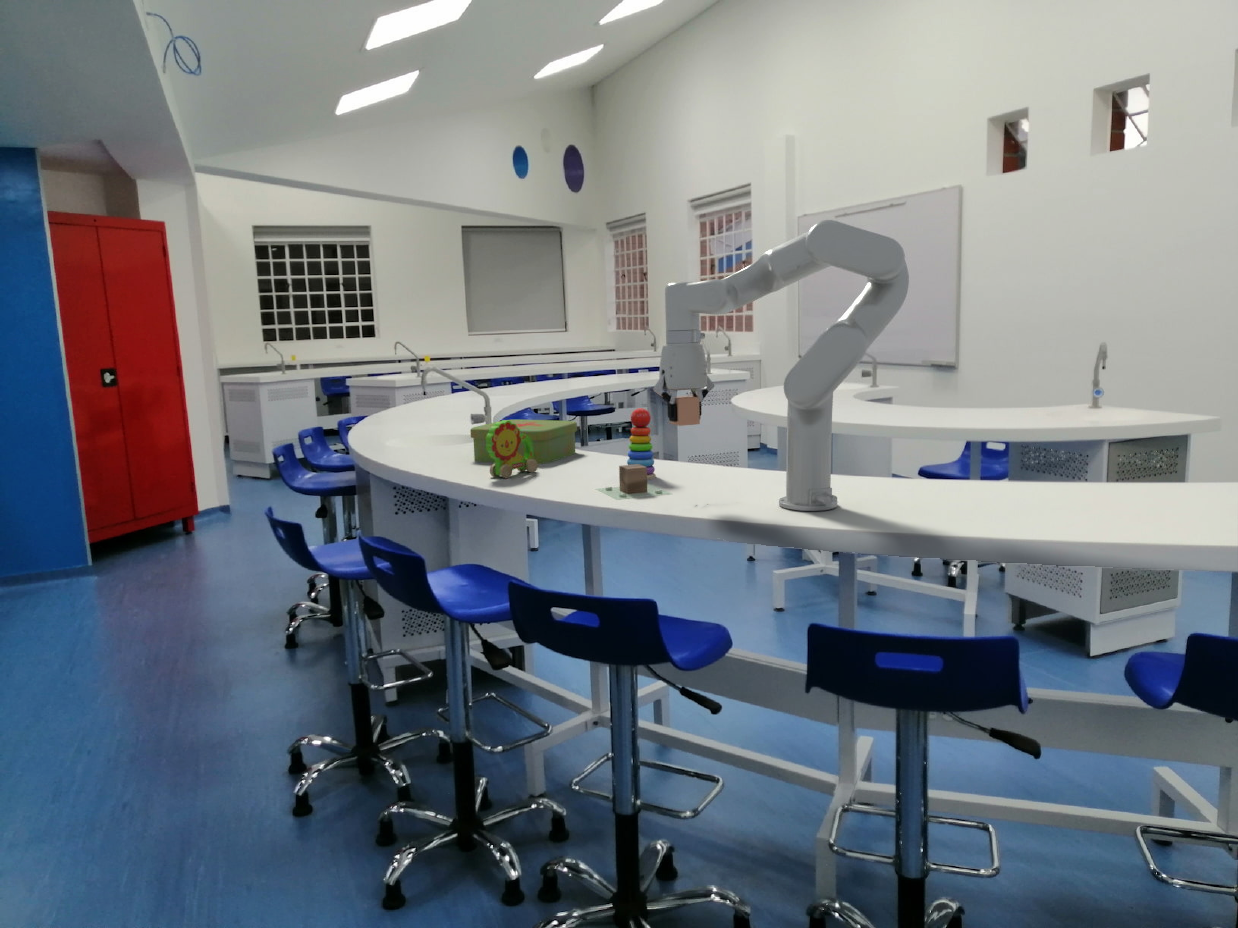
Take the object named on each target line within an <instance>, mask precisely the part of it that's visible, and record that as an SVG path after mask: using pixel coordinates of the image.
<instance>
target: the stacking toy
mask: <svg viewBox="0 0 1238 928" xmlns="http://www.w3.org/2000/svg"><path fill="white" fill-rule="evenodd" d="M630 415H631V416H630V422H631V424H632V425H633V426H634V427H632V428H630V433H631V436H629V442H630V443H629V444H628V448H629V451H628V452H627V456H628V459H627V460H626V465H634V464H640V465H642V466H645V467H647V480H652V479H656V477H657V475H656V473H655V469H656V468H655V466H654V464H655V459H654V458H653V456H654V453H653V451H652V449H653V444H652V443H651V442H652V441H651V440H652V437H651V436H650V433H651V428H650V427H648V425H649V424H650V423H651V420H652V418H651V414H650V412H649V411H648V410H646V409H645V408H641V407H640V408H636V409H634V410H633V411H632V413H631V414H630Z"/></svg>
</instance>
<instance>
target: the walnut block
mask: <svg viewBox="0 0 1238 928" xmlns="http://www.w3.org/2000/svg"><path fill="white" fill-rule="evenodd" d="M618 467H619V468H618V470H619V471H618V472H619V473H618V474H619V476H618V477H619V487H620V491H622V492H624V493H626V494H635V493H645V492H647V484H648V479H647V467H645V466H642V465H640V464H634V465H628V464H626V465H625V464H624V465H618Z"/></svg>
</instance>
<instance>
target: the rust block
mask: <svg viewBox="0 0 1238 928" xmlns="http://www.w3.org/2000/svg"><path fill="white" fill-rule="evenodd" d="M675 404H677V422H673V421H670V420H669V425H670V424H671V425H674V426H678V427H679V426H680V427H683V426H693V425H700V423H701V416H700V412H699V397H693V396H692V395H684V396H676V400H675Z"/></svg>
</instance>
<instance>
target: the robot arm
mask: <svg viewBox="0 0 1238 928" xmlns="http://www.w3.org/2000/svg"><path fill="white" fill-rule="evenodd" d="M905 259H906V256H905V251H904V248H903V247H902V245H901V244H900V243H899V241H897V240H896V239H894V238H892V237H890V236H886V235H883V234H879V233H877V232H873V231H871V230H870V231H869V230H867V229H862V228H859V227H856V226H853V225H849V224H846V223H844V222H841V221H838V220H834V219H825V220H820V221H819V222H816V223H815V224H814V225H813V226H811V228H810V229H809V230H808V231H806V232H804V233H801V234H800V235H798V236H795V237H794V238H792V239H790V240H788V241H786V242H783V243H781V244H779V245H777V246H775V247H772V248H770V249H769V250H767V251H765V252H764V253H762V255H761V256H760V257H758V259H757V260H756V261H754V262H753V263H751V264H749V265H748V266H746V267H745V268H743V269H741V270H739V271H737V272H734V273H733V274H730V275H729V276H727V277H724V278H721V279H717V278H716V279H713V278H712V279H708V280H706V279H705V280H701V281H698V282H697V281H696V282H694V281H679V282H677V281H675V282H669V283H667V284H666V285H665V289H664V301H665V303H664V305H665V306H664V309H665V311H664V313H665V342H666V343H665V345H662V347H661V354H660V361H659V375H658V376H659V379H658V380H657V382H656V384H655V385H654V387H653V389H652V390H653V392H655V393H656V394H657V395H658V396H660V397H661V398H662V399H663V401H664V402H665V403H666V404H667V418H668V420H669V422H670V421H673V422H677V404H675V400H676V397H677V395H678V391H685V390H686V391H688V390H689V391H690V392H691V396H693V397H699V412H700V417H701V416H702V402H704V399H705V398H706V397H707V395H708V394H709V393H710V392H711V391H712V390H713V388H714V387H715V384H714V383H713V381H712V380H711V379H710V377H709V376H708V371H707V370H708V369H707V361H706V354H705V350H704V345H703V343H701V342H702V341H701V340H702V339H703V340H704V339H705V338H706V334H705V332H701V326H700V322H701V321H700V318H701V317H700V314H705V315H714V316H716V315H717V316H718V315H726V314H728V313H731V312H733V311H735V310H737V309H739V308H742V307H744V306H746V305H748V304H751V303H752V302H755V301H757V300H759V299H761V298H763V297H765V296H768V295H769V294H772V293H774V292H778V291H781V290H782V289H784V288H785V287H788V286H790V285H792V284H794V283H797V282H799V281H800V280H802V279H804V278H807V277H809V276H811V275H813V274H815V273H818V272H821V271H822V270H824V269H827V268H829V267H831V266H832V267H834V268H837V269H841V270H844V271H847V272H851V273H854V274H857V275H861V276H863V277H866V283H865V287H864V289H863V290H862V291H861V293H860V294H859V295H858V296H857V298H855V300H854V301H853V302H852V303H851V305H850V306H849V307H848V308H847V310H846V311H844V313H843V314H842V315H841V316H840V317H839V318H838V319H837V321H836V322H835V323H833V324H831V325H829V326H828V327H827V328H826V329H825V330H824V331H823V332H822V333H821V334H820V336H818V338H817V339H816V340H815V341H814V342H813V344H812V345H811V346H810V347H809V348H808V350H807V351H806V352H804V354H803V355H802V356H801V357H800V358H799V360H798V361H797V362H796V363H795V364H794V366H793V367H792V368H791V369H790V370H789V372H788V373H787V374H786V376H785V377H784V382H783V393H784V395H785V396H784V397H785V398H786V399H787V412H786V413H787V417H786V418H787V420H786V473H785V475H786V481H785V483H786V484H785V486H786V487H785V488H786V490H785V492H786V493H785V496H783V497H781V498H780V499H778V506H779V507H781V508H784V509H788V510H792V511H793V510H794V511H800V512H801V511H802V512H803V511H804V512H818V511H819V512H820V511H827V510H828V511H829V510H833V509H836V508H837V507H838V496H836V495H834V494H833V487H831V482H832V481H831V480H832V479H831V475H832V474H831V473H832V472H831V471H832V436H833V434H832V432H833V404H834V392H835V391H836V389H838V387H839V386H840V385H841V384H842V383H843V382H844V381H845V380H846V378H847V377H848V376H849V375H850V374H851V373H852V371H854V369H855V368H856V367H857V366H858V365H859V364H860V362H861V361H862V360H863V358H864V357H865V355H866V354H867V351H868V349H869V348H870V346H871V345H872V344H873V343H874V342H875V341H876V339H877V338H878V337H879V336H880V335H881V334H882V332H884V330H885V329H886V328H887V326H888V325H889V324H890V322H892V320H893V319H894V318H895V316H896V315H897V314H898V313H899V311H900V309H901V308H902V306H903V305H904V304H905V303H904V302H905V301H906V298H907V294H908V291H909V287H910V286H909V285H910V276H909V274H910V273H909V270H908V266H907V263H906V260H905ZM665 390H667V391H665Z"/></svg>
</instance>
